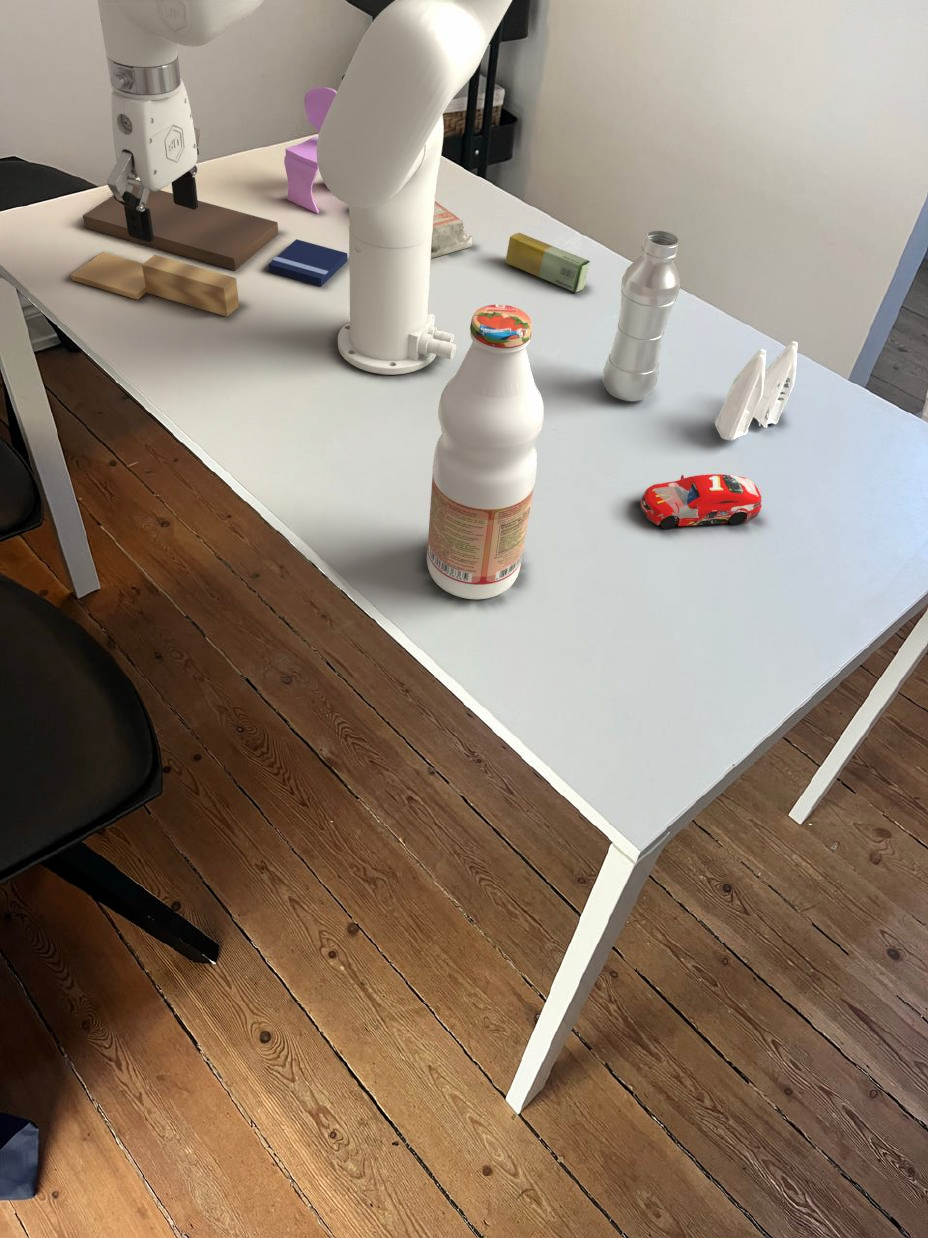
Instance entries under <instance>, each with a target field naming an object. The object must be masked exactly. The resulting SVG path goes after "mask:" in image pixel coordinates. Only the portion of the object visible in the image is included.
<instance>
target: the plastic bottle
mask: <svg viewBox="0 0 928 1238" xmlns="http://www.w3.org/2000/svg"><path fill="white" fill-rule="evenodd" d="M679 244H680V239H679V237H678V236H677V235H676V234H674V233H672V232H669V231H666V230H659V229H656V230H649V231H648V232H647V233H646V234H645V235H644V240H643V244H642V245H641V248H640V253H641V255H640V256H639V257H638V258H637V259H635V260H634V261H633V262H632V263H631V264H630V265H629V266H627V268H626V270H625V272H624V274H623V276H622V278H621V285H620V286H621V287H620V288H621V290H620V307H619V315H618V323H617V329H616V333H615V336H614V339H613V342H612V345H611V349H610V352H609V354H608V356H607V359H606V360H605V364H604V367H603V371H602V382H603V386H604V388H605V390H606V391H607V393H609V395H610V396H612V397H614V398H615V399H618V400H621V401H624V402H638V401H643V400H645V399H646V398H648V397H649V396H650V395H651V394H653V392H654V390H655V388H656V385H657V383H658V381H659V374H660V373H659V372H660V357H661V349H662V342H663V337H664V336H665V335H664V334H665V330H666V328H667V324H668V321H669V318H670V315H671V313H672V312H673V311H672V310H673V309H674V306H675V303H676V301H677V298H678V296H679V293H680V290H681V278H680V275H679V272H678V269H677V266H676V265H675V263H674V260H675V259H676V258H677V255H678V247H679Z"/></svg>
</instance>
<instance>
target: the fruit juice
mask: <svg viewBox="0 0 928 1238" xmlns="http://www.w3.org/2000/svg"><path fill="white" fill-rule="evenodd" d="M469 331H470V333H469V334H470V339H471V344H470V346H469V348H468V350H467V352H466V354H465V356H464V358H463V360H462V362H461V364H460V366H459V368H458V370H457V371H456V373H455V374H454V376H453V377H452V378H451V379H450V380H449V381H448V382H447V383H446V385H445V386H444V388H443V390H442V392H441V394H440V398H439V403H438V409H437V410H438V411H437V413H438V422H439V426H440V431H441V434H440V436H439V438H438V440H437V442H436V446H435V449H434V453H433V454H434V455H433V461H432V473H431V476H432V477H431V489H430V503H429V505H430V506H429V519H428V520H429V521H428V535H427V548H426V549H427V551H426V564H427V569H428V571H429V575H430V576H431V579H432V580H433V581H434V583H435V584H436V585H437V586H439V587H440V588H441V590H443V591H444V592H446V593H448V594H450V595H453V596H455V597H458V598H463V599H468V600H484V599H485V600H486V599H490V598H494V597H496V596H499V595H501V594H503V593H505V592H506V591H507V590H508V589H510V588H511V587H512V585H514V583H515V582H516V580H517V578H518V577H519V573H520V570H521V565H522V560H523V553H524V547H525V541H526V536H527V530H528V523H529V518H530V513H531V506H532V500H533V494H534V488H535V485H536V477H537V470H538V469H537V468H538V454H537V449H536V445H535V444H536V441H537V440H538V438H539V436H540V433H541V432H542V428H543V425H544V418H545V407H544V406H545V405H544V401H543V397H542V394H541V392H540V391H539V389H538V387H537V385H536V382H535V379H534V376H533V372H532V367H531V364H530V359H529V354H528V351H527V347H528V345H529V343H530V340H531V338H532V333H533V323H532V319H531V318H530V316H529V315H528V314H527V313H526V312H525V311H524V310H522V309H519V308H517V307H515V306H511V305H506V304H489V305H485V306H482V307H480V308H477V310H476V311H475V312H474V313H473V315H472V317H471V321H470V325H469Z"/></svg>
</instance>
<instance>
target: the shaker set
mask: <svg viewBox="0 0 928 1238" xmlns="http://www.w3.org/2000/svg"><path fill="white" fill-rule="evenodd" d="M798 346H799V343H798V342H797V341H790V342H789V343H788V344H787V345H786V346H785V348H784V349H782V351H781V352H780V353H779V354H778V356H777V357H776V358H775V359H774V360H773V362H772V363H771V364H770V365H769V367H768V368H767V369H766V360H767V359H766V358H767V351H766V350H765V349H763V348H761V349H758V350H757V351H756V353H754V355H753V356H751V358H750V359H749V361H748V362H747V363H746V364H745V366H744V367H743V368H742V369H741V370H740V371H739V373H738V374H737V375H736V377H735V378H734V379H733V381H732V383H731V385H730V387H729V390H728V392H727V395H726V397H725V399H724V401H723V404H722V406H721V409H720V411H719V414H718V416H717V417H716V418H715V419H714V426H715V429H716V430H717V432H718V433H719V436H720V438H721V439H723V440H726V441H735V440H736V439H737V438H741V437H743V436H746V435H747V433H748V432H749V427H750V425H751V422H752V421H753V419H755V420H756V421H757V422H758V426H759V427H762V426H763V428H768V425H769V424H774V425H777V424H778V422H779V421H780V420H779V419H780V417H781V415H783V410H784V408H785V406H786V404H787V402H788V400H789V398H790V395H791V393H792V391H793V388H794V385H795V380H796V372H797V361H798V360H797V359H798ZM761 425H762V426H761Z"/></svg>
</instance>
